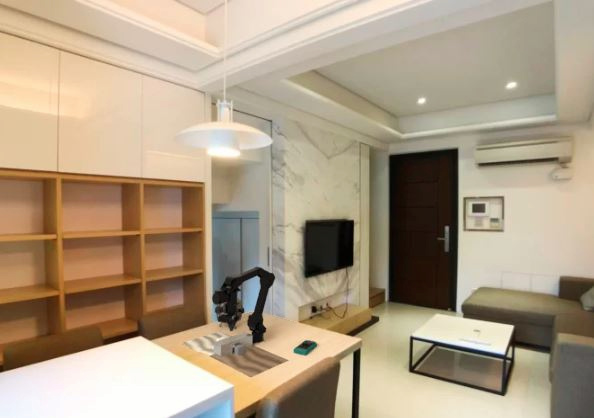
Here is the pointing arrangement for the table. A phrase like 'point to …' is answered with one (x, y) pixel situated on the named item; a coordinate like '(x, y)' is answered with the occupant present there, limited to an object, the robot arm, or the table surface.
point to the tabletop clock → (226, 314)
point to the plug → (237, 350)
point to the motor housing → (226, 345)
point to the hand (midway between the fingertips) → (231, 330)
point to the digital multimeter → (305, 347)
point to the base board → (246, 363)
